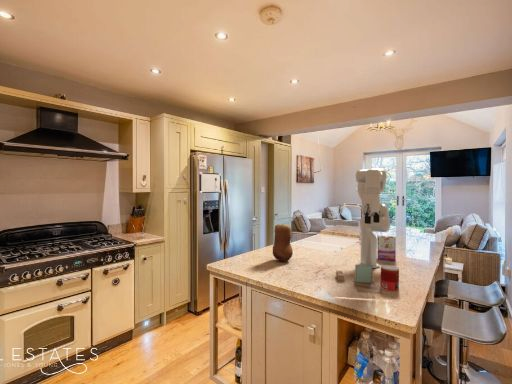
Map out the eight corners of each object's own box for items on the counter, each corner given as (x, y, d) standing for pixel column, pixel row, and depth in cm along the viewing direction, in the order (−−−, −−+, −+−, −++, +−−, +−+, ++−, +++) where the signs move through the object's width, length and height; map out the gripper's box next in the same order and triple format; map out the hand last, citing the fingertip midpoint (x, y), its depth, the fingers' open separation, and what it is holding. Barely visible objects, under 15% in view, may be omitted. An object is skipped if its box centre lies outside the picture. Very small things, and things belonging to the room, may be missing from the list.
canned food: (399, 293, 126) (400, 270, 126) (381, 291, 129) (381, 268, 129) (397, 287, 133) (398, 265, 133) (380, 285, 136) (380, 264, 136)
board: (351, 282, 141) (351, 280, 141) (373, 283, 139) (373, 282, 139) (357, 293, 126) (357, 291, 126) (382, 295, 124) (382, 293, 124)
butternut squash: (295, 259, 184) (295, 223, 184) (289, 264, 172) (289, 225, 171) (276, 257, 190) (276, 222, 189) (269, 262, 178) (269, 224, 177)
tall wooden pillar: (332, 274, 154) (332, 267, 154) (342, 274, 153) (343, 267, 153) (335, 282, 141) (335, 274, 140) (347, 283, 140) (347, 275, 140)
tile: (354, 281, 140) (355, 264, 140) (371, 282, 138) (371, 265, 138) (355, 282, 138) (355, 265, 138) (372, 283, 137) (372, 266, 137)
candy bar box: (394, 259, 187) (394, 235, 187) (395, 261, 182) (396, 237, 182) (376, 257, 190) (377, 234, 190) (377, 259, 186) (378, 236, 185)
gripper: (373, 191, 154) (373, 221, 154) (357, 191, 143) (357, 223, 143) (386, 191, 148) (386, 222, 148) (371, 191, 137) (371, 224, 137)
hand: (372, 223), depth 146 cm, fingers open, 9 cm apart
